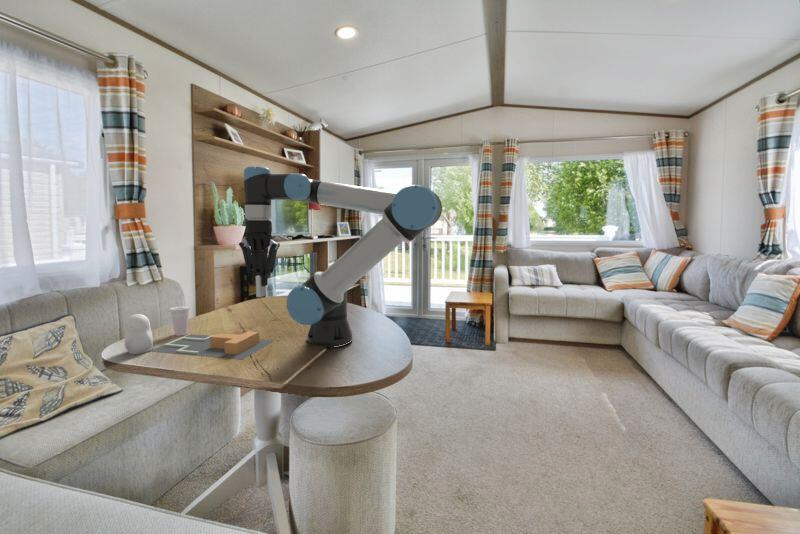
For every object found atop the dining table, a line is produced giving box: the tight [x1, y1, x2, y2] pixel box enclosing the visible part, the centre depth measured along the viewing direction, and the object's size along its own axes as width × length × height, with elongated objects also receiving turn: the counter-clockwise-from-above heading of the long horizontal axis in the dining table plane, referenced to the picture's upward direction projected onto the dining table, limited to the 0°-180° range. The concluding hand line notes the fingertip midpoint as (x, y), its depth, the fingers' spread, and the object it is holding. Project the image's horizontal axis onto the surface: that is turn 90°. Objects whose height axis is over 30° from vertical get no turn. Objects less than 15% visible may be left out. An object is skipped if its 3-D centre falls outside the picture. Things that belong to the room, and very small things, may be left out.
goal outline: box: [163, 334, 214, 354], centre depth 123 cm, size 15×16×1 cm
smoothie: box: [168, 295, 191, 337], centre depth 135 cm, size 6×6×14 cm
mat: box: [147, 333, 276, 360], centre depth 121 cm, size 32×18×1 cm, turn 79°
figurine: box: [124, 313, 154, 355], centre depth 118 cm, size 7×8×12 cm
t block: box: [210, 330, 260, 355], centre depth 120 cm, size 12×12×4 cm
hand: (261, 296), depth 118 cm, fingers closed
